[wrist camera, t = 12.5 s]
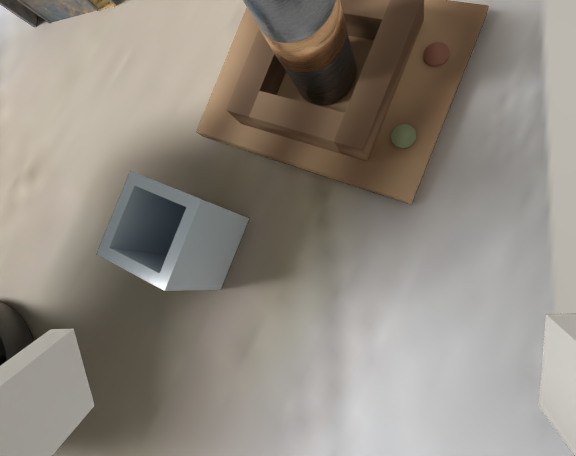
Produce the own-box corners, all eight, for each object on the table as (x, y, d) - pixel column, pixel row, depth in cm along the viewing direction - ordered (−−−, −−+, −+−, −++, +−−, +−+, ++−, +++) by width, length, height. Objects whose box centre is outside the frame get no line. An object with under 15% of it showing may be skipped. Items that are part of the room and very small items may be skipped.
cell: (286, 97, 29) (206, -18, 18) (308, 40, 29) (243, -109, 18) (343, 111, 27) (294, -6, 16) (367, 51, 27) (334, -106, 16)
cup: (162, 260, 32) (96, 254, 25) (189, 194, 32) (130, 170, 25) (220, 289, 29) (164, 290, 23) (249, 218, 30) (201, 199, 23)
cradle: (202, 136, 32) (178, 119, 29) (264, -16, 32) (246, -49, 29) (411, 204, 26) (410, 192, 22) (486, 15, 26) (496, -24, 23)
